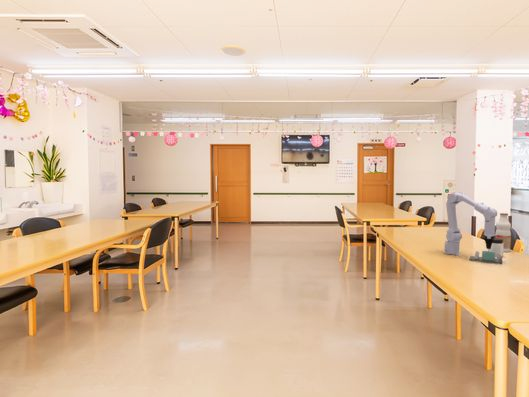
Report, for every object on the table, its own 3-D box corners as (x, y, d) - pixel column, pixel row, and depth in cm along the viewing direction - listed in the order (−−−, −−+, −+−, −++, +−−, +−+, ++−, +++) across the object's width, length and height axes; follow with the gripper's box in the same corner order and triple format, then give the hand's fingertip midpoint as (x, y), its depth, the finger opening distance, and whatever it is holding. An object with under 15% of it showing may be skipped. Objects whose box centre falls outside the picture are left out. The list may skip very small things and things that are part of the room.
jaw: (474, 258, 228) (475, 253, 228) (475, 256, 235) (475, 251, 235) (478, 259, 227) (478, 253, 227) (479, 256, 234) (479, 251, 233)
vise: (469, 260, 229) (469, 253, 229) (470, 257, 237) (470, 250, 237) (502, 264, 219) (502, 257, 219) (502, 260, 227) (502, 254, 227)
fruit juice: (507, 252, 249) (509, 214, 247) (492, 250, 256) (494, 213, 254) (511, 250, 255) (513, 213, 253) (497, 248, 262) (498, 212, 260)
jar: (498, 257, 235) (499, 240, 234) (486, 255, 242) (486, 238, 241) (504, 256, 240) (505, 239, 239) (491, 253, 247) (492, 237, 246)
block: (481, 259, 228) (482, 252, 227) (482, 258, 231) (482, 250, 231) (494, 260, 223) (494, 253, 223) (495, 259, 227) (495, 252, 227)
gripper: (496, 229, 217) (495, 250, 219) (497, 226, 229) (496, 246, 230) (483, 228, 221) (482, 249, 223) (484, 225, 233) (483, 245, 234)
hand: (488, 247), depth 227 cm, fingers open, 7 cm apart
